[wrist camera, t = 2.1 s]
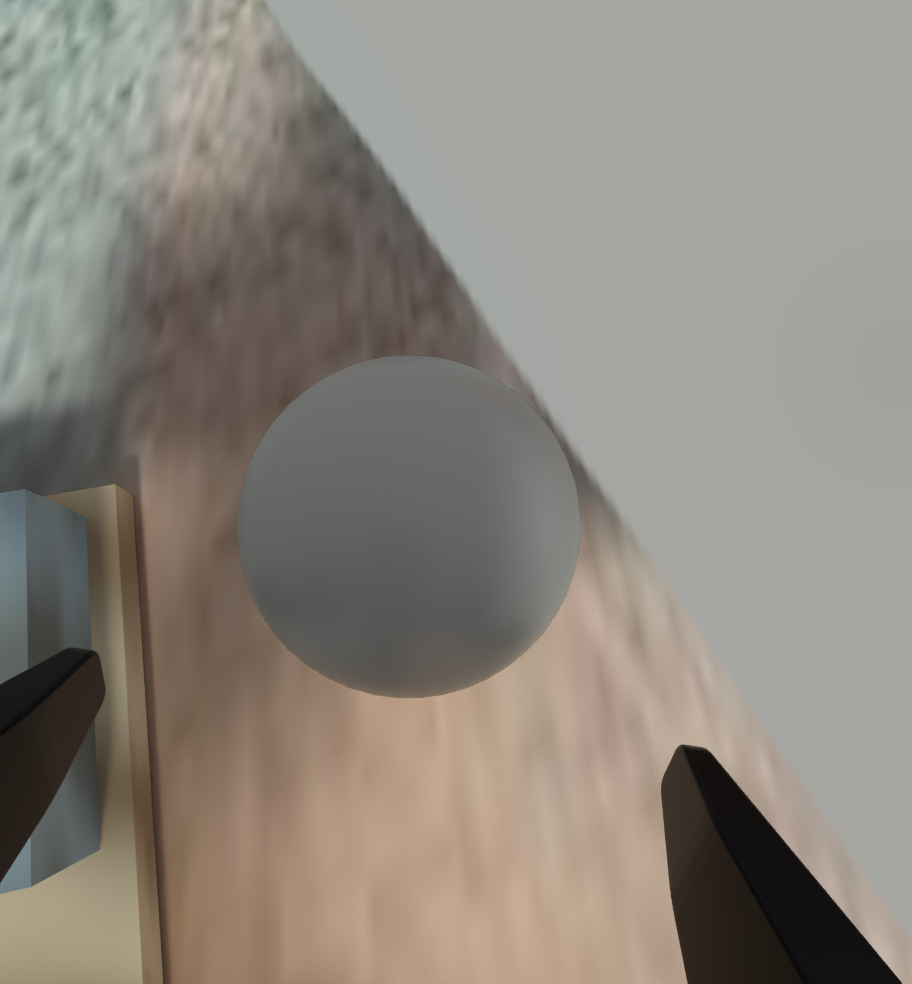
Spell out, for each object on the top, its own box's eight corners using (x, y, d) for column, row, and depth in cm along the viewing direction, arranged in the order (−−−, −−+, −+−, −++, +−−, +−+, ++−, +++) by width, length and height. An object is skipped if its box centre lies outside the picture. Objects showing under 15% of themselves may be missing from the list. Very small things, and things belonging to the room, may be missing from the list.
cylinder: (501, 668, 19) (681, 652, 6) (361, 697, 19) (201, 755, 5) (473, 532, 21) (566, 255, 7) (340, 557, 20) (164, 314, 7)
